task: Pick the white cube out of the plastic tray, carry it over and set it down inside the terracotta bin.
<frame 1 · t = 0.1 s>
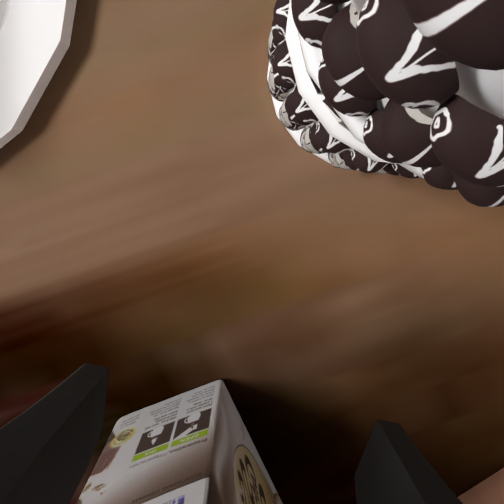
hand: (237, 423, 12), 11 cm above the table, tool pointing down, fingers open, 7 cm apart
coffee box: (204, 465, 25), on the table
decorative candle: (361, 72, 20), on the table
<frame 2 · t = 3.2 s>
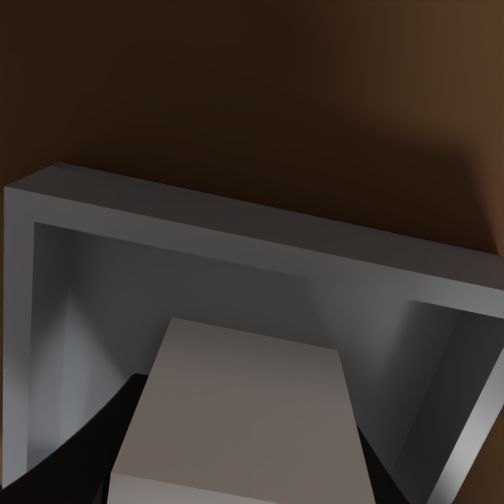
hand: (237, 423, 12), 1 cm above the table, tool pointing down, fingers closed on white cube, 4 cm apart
white cube: (239, 400, 13), resting on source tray, touching gripper
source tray: (240, 389, 13), on the table
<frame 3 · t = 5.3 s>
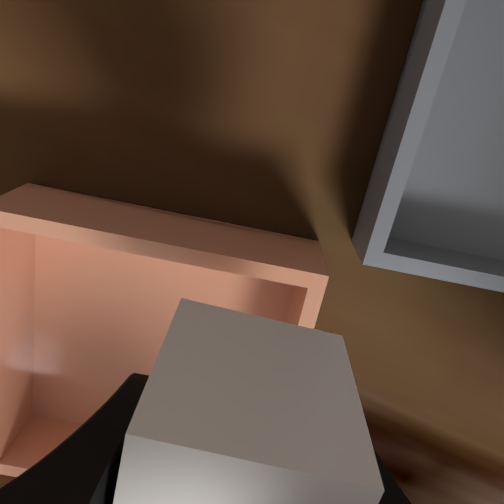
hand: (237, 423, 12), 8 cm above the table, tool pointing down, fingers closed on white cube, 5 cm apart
white cube: (243, 383, 13), point 7 cm above the table, touching gripper
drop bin: (157, 336, 21), on the table
when the fingers open (3 cm above the table, at t = 7.3 s): white cube stays where it is, resting on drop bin.
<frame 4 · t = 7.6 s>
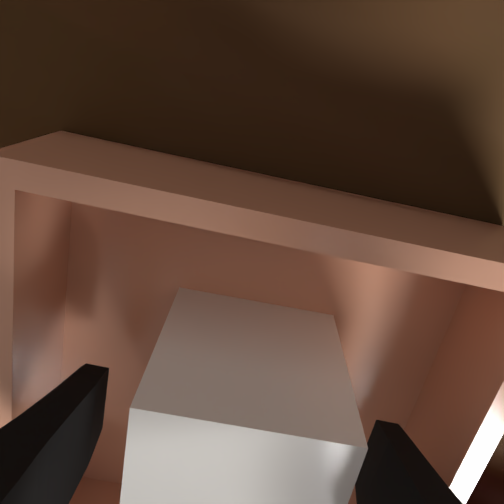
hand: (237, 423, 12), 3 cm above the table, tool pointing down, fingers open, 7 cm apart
white cube: (243, 365, 14), resting on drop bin
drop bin: (242, 364, 15), on the table
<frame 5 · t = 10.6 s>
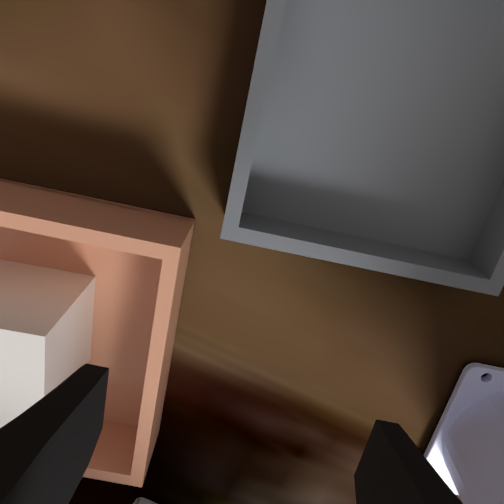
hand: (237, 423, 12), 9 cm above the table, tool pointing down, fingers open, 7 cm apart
white cube: (44, 310, 21), resting on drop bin
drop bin: (49, 311, 22), on the table
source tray: (390, 115, 18), on the table
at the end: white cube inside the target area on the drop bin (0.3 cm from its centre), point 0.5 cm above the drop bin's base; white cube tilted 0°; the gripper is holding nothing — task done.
